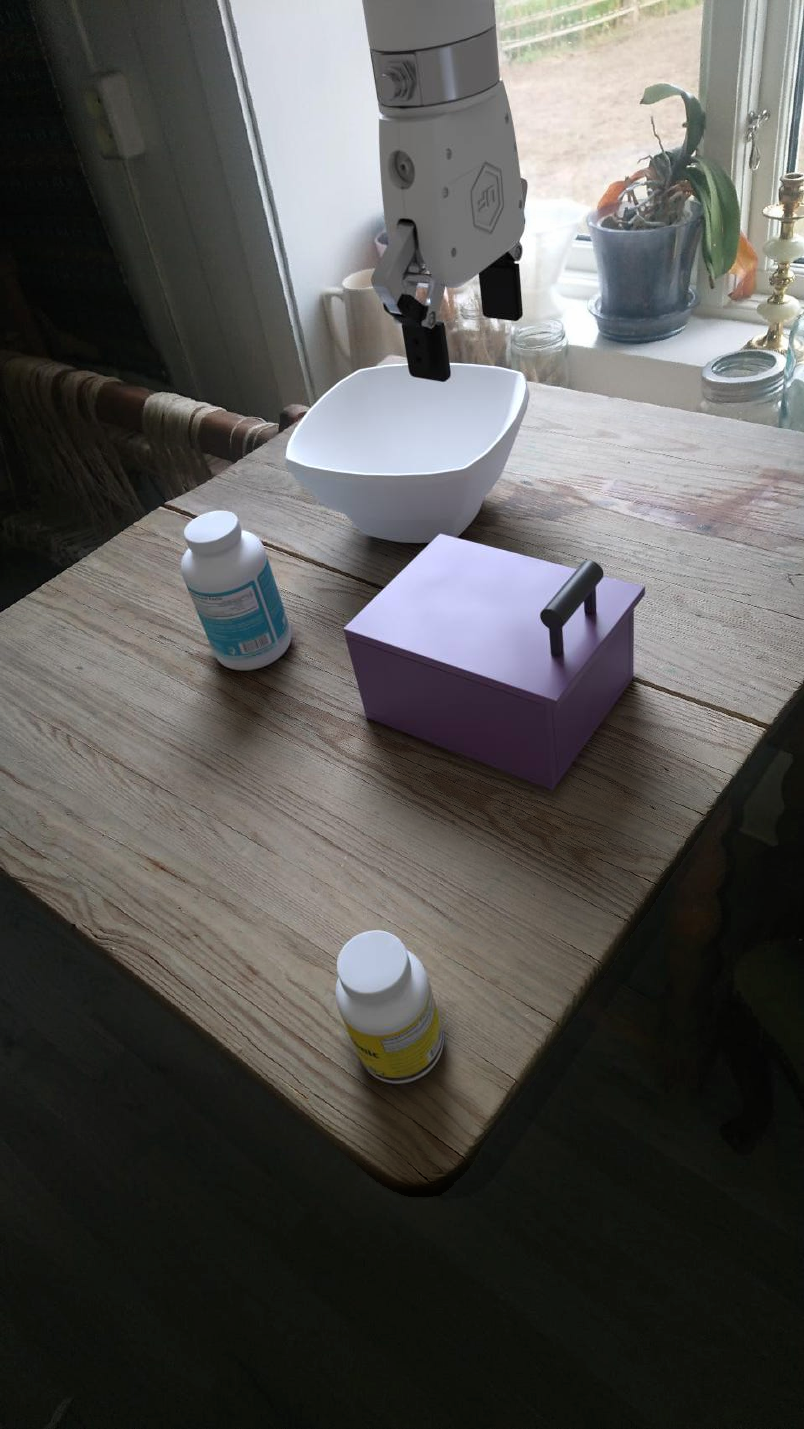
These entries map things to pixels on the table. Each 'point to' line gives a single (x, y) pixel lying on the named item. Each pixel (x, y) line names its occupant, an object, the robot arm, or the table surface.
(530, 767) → the purple box
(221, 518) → the pill bottle
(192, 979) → the table surface
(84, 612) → the table surface
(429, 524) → the bowl
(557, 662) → the lid
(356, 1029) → the supplement bottle
